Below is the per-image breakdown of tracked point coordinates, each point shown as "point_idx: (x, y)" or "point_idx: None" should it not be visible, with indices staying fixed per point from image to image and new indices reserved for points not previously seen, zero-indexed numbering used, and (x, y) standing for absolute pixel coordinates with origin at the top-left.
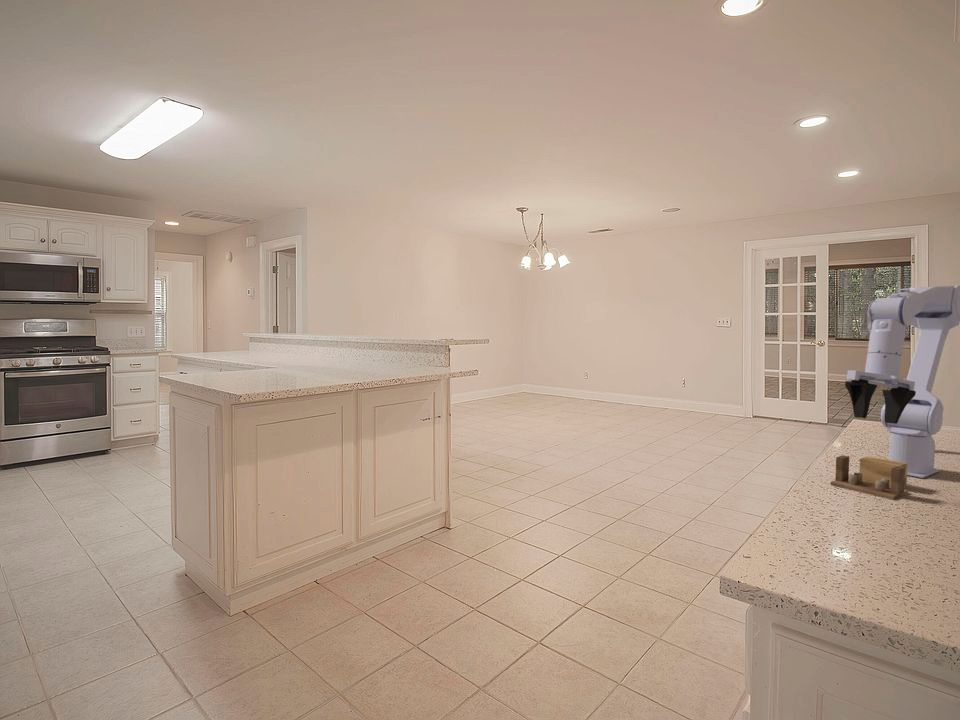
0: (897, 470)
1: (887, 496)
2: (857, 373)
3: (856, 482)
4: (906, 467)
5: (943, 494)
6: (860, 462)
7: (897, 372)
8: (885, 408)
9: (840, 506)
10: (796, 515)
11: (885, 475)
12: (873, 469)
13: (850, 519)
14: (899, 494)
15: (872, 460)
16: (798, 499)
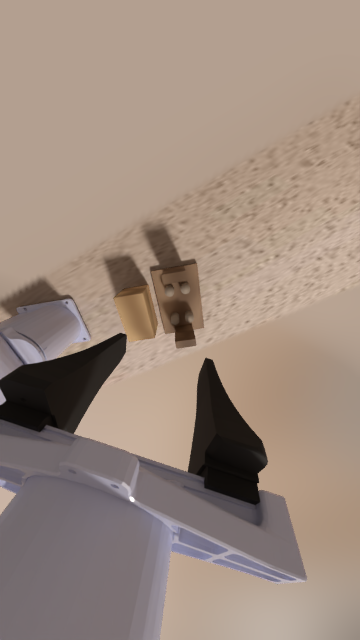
0: (185, 272)
1: (197, 269)
2: (291, 547)
3: (188, 311)
4: (118, 295)
5: (111, 247)
6: (155, 334)
7: (47, 534)
8: (105, 379)
9: (274, 275)
10: (343, 276)
11: (149, 303)
12: (152, 317)
13: (314, 241)
14: (178, 266)
15: (148, 326)
16: (285, 308)
